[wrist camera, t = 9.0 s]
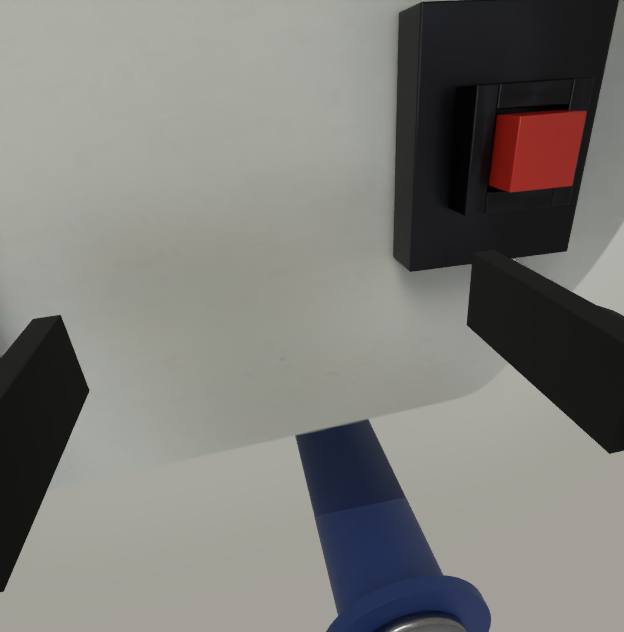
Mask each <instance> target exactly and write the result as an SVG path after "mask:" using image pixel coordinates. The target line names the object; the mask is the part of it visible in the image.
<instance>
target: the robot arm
mask: <svg viewBox="0 0 624 632" xmlns="http://www.w3.org/2000/svg"><path fill="white" fill-rule="evenodd" d="M467 326H468V327H470V328H471V329H472V330H473V331H474V332H475V333H476V334H477V335H478V336H480V337H481V338H482V339H483V340H484V341H485V342H486V343H487V344H488V345H490V346H491V347H492V348H493V349H494V350H495V351H496V352H497V353H498V354H500V355H501V356H502V357H503V358H504V359H505V360H506V361H507V362H508V363H509V364H511V365H512V366H513V367H514V368H515V369H516V370H517V371H518V372H520V373H521V374H522V375H523V376H524V377H525V378H526V379H527V380H528V381H529V382H531V383H532V384H533V385H534V386H535V387H536V388H537V389H538V390H539V391H541V392H542V393H543V394H544V395H545V396H546V397H547V398H548V399H549V400H551V401H552V402H553V403H554V404H555V405H556V406H557V407H558V408H559V409H561V410H562V411H563V412H564V413H565V414H566V415H567V416H568V417H570V419H572V420H573V421H574V422H575V423H576V424H577V425H578V426H579V427H580V428H582V429H583V430H584V431H585V432H586V433H587V434H588V435H589V436H590V437H592V438H593V439H594V440H595V441H596V442H597V443H598V444H599V445H600V446H602V447H603V448H604V449H605V450H606V451H607V452H608V453H609V454H611V453H614V452H620V451H623V450H624V316H622V315H621V314H619V313H617V312H615V311H613V310H610V309H606V308H603V307H600V306H597V305H595V304H593V303H591V302H589V301H587V300H586V299H584V298H582V297H580V296H578V295H576V294H575V293H573V292H571V291H569V290H567V289H565V288H564V287H562V286H560V285H558V284H556V283H554V282H553V281H551V280H549V279H547V278H545V277H543V276H542V275H540V274H538V273H536V272H534V271H532V270H531V269H529V268H527V267H525V266H523V265H521V264H520V263H518V262H516V261H514V260H512V259H510V258H509V257H507V256H505V255H503V254H501V253H499V252H497V251H496V250H489V251H482V252H475V253H473V260H472V271H471V282H470V294H469V305H468V317H467ZM88 393H89V388H88V386H87V383H86V380H85V378H84V375H83V372H82V370H81V367H80V365H79V362H78V359H77V357H76V354H75V351H74V349H73V346H72V344H71V341H70V338H69V336H68V333H67V330H66V328H65V325H64V323H63V320H62V317H61V315H57V316H50V317H44V318H37V319H33V320H32V321H31V322H30V323H29V325H28V326H27V327H26V328H25V330H24V331H23V332H22V333H21V334H20V336H19V337H18V338H17V339H16V341H15V342H14V343H13V344H12V345H11V347H10V348H9V349H8V350H7V352H6V353H5V354H4V355H3V356H2V358H1V359H0V592H3V591H4V590H5V587H6V585H7V582H8V580H9V578H10V575H11V573H12V571H13V568H14V566H15V564H16V561H17V559H18V557H19V554H20V552H21V550H22V547H23V545H24V543H25V540H26V538H27V536H28V533H29V531H30V529H31V526H32V524H33V521H34V519H35V517H36V515H37V512H38V510H39V508H40V505H41V503H42V500H43V498H44V496H45V494H46V491H47V489H48V486H49V484H50V482H51V479H52V477H53V475H54V472H55V470H56V468H57V465H58V463H59V461H60V458H61V456H62V454H63V451H64V449H65V447H66V444H67V442H68V440H69V437H70V435H71V433H72V430H73V428H74V426H75V423H76V421H77V419H78V416H79V414H80V412H81V409H82V407H83V404H84V402H85V400H86V397H87V395H88ZM373 632H466V629H465V627H464V625H463V623H462V621H461V620H460V619H459V618H458V617H457V616H455V615H453V614H451V613H448V612H444V611H434V610H432V611H420V612H415V613H411V614H407V615H404V616H401V617H399V618H396V619H394V620H392V621H390V622H388V623H386V624H384V625H382V626H381V627H379V628H378V629H376V630H375V631H373Z"/></svg>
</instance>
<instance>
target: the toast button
mask: <svg viewBox="0 0 624 632" xmlns="http://www.w3.org/2000/svg"><path fill="white" fill-rule="evenodd" d="M586 113H587V111H578V110H551V111H538V112H526V113H513V114H500V115H497V118H496V127H495V135H494V144H493V153H492V161H491V170H490V178H489V186H491V187H494V188H497V189H501V190H504V191H507V192H510V193H511V192H520V191H530V190H539V189H548V188H557V187H567V186H572V184H573V179H574V174H575V169H576V164H577V159H578V154H579V149H580V144H581V139H582V133H583V128H584V123H585V118H586Z"/></svg>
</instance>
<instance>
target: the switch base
mask: <svg viewBox="0 0 624 632" xmlns="http://www.w3.org/2000/svg"><path fill="white" fill-rule="evenodd" d="M618 2H619V0H457V1H430V2H421V3H419V4H416V5H414V6H412V7H410V8H408V9H406V10H404V11H401V12H400V13H399V42H398V84H397V126H396V168H395V211H394V253H393V257H394V258H395V259H396V260H397V261H399V262H400V263H401V264H402V265H403V266H404V267H405V268H406V269H408V270H409V271H410V272H412V271H420V270H428V269H435V268H443V267H450V266H458V265H466V264H472V260H473V253H475V252H482V251H489V250H496V251H497V252H499V253H501V254H503V255H505V256H507V257H509V258H510V259H511V258H519V257H526V256H534V255H541V254H549V253H557V252H564V251H567V248H568V243H569V238H570V234H571V229H572V224H573V219H574V214H575V209H576V205H577V200H578V195H579V190H580V185H581V180H582V176H583V171H584V166H585V161H586V156H587V151H588V147H589V142H590V137H591V132H592V127H593V122H594V118H595V113H596V108H597V103H598V98H599V93H600V89H601V84H602V79H603V74H604V69H605V64H606V60H607V55H608V50H609V45H610V40H611V35H612V31H613V26H614V21H615V16H616V11H617V6H618ZM551 110H578V111H587V113H586V118H585V123H584V128H583V133H582V139H581V144H580V149H579V154H578V159H577V164H576V169H575V174H574V179H573V184H572V186H567V187H557V188H548V189H539V190H530V191H520V192H511V193H510V192H507V191H504V190H501V189H497V188H494V187H491V186H489V178H490V170H491V161H492V153H493V144H494V135H495V127H496V118H497V115H500V114H513V113H526V112H538V111H551Z"/></svg>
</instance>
